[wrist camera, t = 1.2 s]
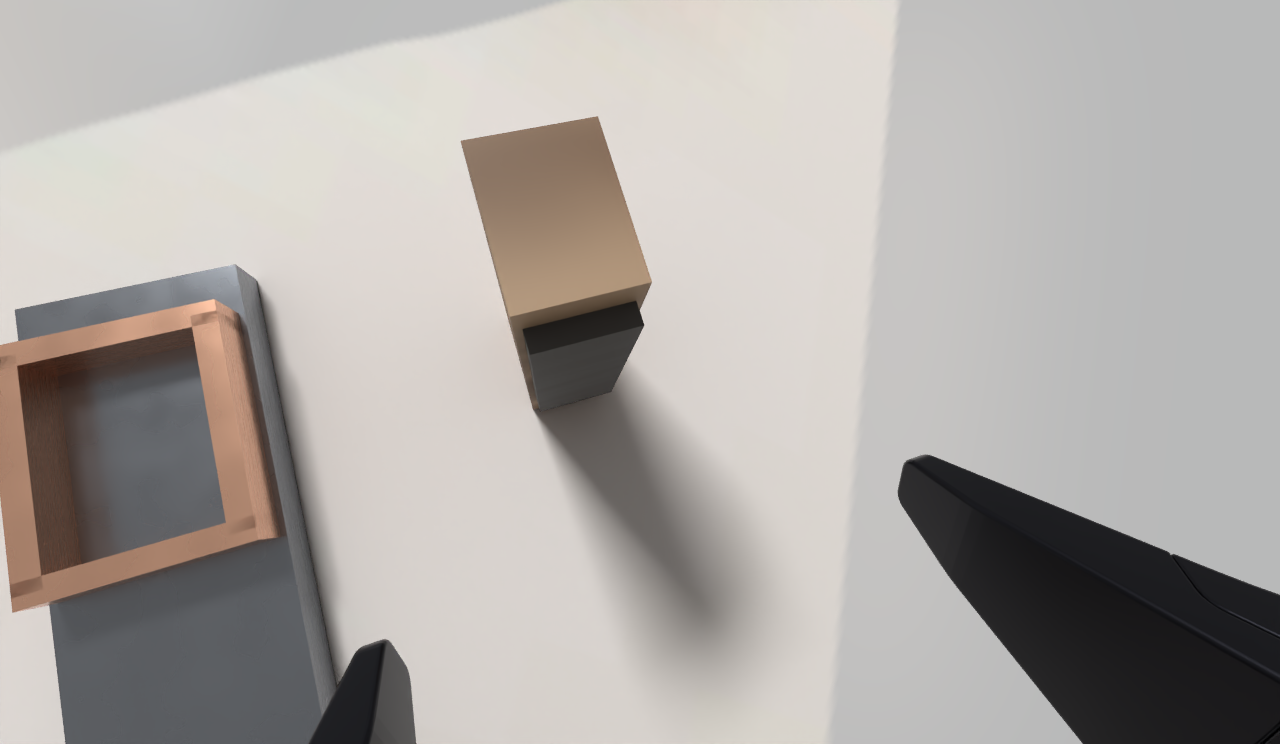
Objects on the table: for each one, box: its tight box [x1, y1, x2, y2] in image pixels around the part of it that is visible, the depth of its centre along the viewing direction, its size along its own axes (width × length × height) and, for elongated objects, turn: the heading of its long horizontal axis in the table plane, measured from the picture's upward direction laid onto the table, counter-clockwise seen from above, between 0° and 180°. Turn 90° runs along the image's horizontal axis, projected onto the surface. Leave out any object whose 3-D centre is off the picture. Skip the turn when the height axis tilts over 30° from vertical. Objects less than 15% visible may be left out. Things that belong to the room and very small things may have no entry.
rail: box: [0, 265, 337, 744], centre depth 13 cm, size 26×7×14 cm, turn 17°
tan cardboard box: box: [461, 116, 652, 412], centre depth 18 cm, size 5×3×12 cm, turn 17°
